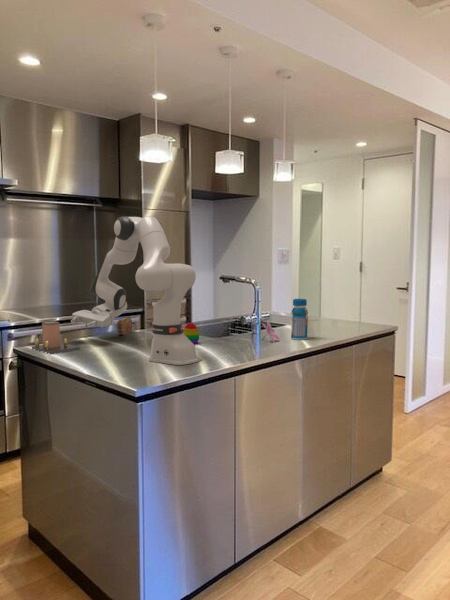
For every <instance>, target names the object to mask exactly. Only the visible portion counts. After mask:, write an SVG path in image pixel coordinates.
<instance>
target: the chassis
mask: <svg viewBox="0 0 450 600" xmlns="http://www.w3.org/2000/svg"><path fill="white" fill-rule="evenodd" d="M39 339H40V338H35V345H33V346H31V349H32V350H33V349H36V350H35V351H37V350H40V351H44V352H47V353H46V354H48V353H50V354H49V355H55V354H54V353H56V354H61V353H60V352H62V353H68V352H73V350H74V351H79V349H81V348H80V346H77V345H74V344H69V343H68V338H67V337H66V338H63V342H61V341H60V346H59V347H53V348H49V341H45V347H43V344H40V340H39ZM40 351H39V352H40ZM67 351H68V352H67ZM44 352H43V353H44Z"/></svg>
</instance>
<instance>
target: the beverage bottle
mask: <svg viewBox="0 0 450 600" xmlns="http://www.w3.org/2000/svg"><path fill="white" fill-rule="evenodd" d="M307 302H308V301H307V299H306V298H293V299H292V305H293V308H292V310H291V317H290V320H291V332H290V333H291V334H290V337H291V339H292V340H295V341H296V340H297V341H298V340H299V341H305V340H307V339H308V335H309V334H308V326H309V325H308V321H309V316H308V314H309V311H308V308H307V305H308V303H307Z"/></svg>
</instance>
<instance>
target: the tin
mask: <svg viewBox="0 0 450 600" xmlns="http://www.w3.org/2000/svg"><path fill="white" fill-rule="evenodd" d="M116 330H117V334H118V335H119V336H125V335H126V336H127V334H128V335H129V334H130V333H132V330H133V321H132V318H131V317H123V318H121V319H118V321H117V322H116Z"/></svg>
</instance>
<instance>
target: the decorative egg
mask: <svg viewBox="0 0 450 600" xmlns="http://www.w3.org/2000/svg"><path fill="white" fill-rule="evenodd" d="M184 327H185V328H183V329H184V330H183V331H184V332H183V333H184V335H185V336H186V337H187V338H188V339H189V340H190V341H191V342H192V343H193V344H194V345H196V344H197V343H198V342H199V341H200V332H199V329H198V327H197V325H195V323H193V322H188V323H187V324H186V325H185V326H184Z"/></svg>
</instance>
